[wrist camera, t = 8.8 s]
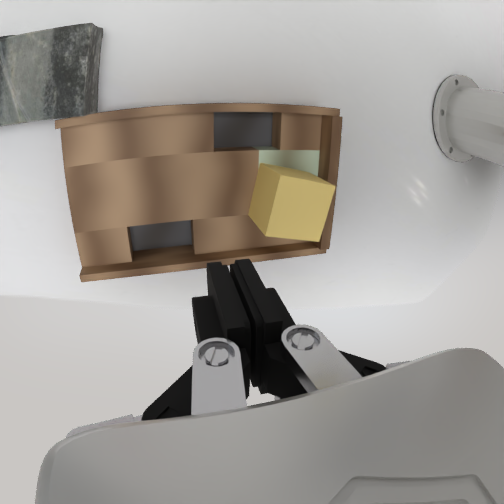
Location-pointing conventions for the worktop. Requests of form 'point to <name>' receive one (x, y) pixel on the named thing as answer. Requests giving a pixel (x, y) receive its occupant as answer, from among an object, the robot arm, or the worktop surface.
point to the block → (290, 203)
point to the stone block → (49, 74)
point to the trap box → (187, 183)
